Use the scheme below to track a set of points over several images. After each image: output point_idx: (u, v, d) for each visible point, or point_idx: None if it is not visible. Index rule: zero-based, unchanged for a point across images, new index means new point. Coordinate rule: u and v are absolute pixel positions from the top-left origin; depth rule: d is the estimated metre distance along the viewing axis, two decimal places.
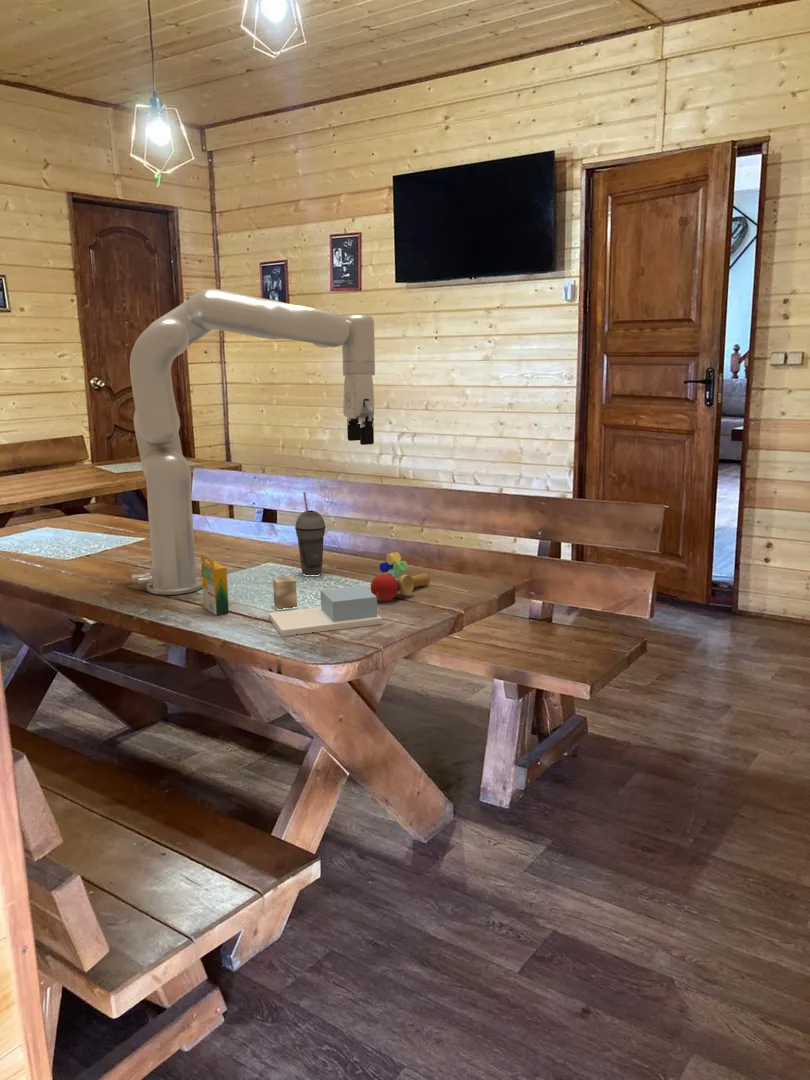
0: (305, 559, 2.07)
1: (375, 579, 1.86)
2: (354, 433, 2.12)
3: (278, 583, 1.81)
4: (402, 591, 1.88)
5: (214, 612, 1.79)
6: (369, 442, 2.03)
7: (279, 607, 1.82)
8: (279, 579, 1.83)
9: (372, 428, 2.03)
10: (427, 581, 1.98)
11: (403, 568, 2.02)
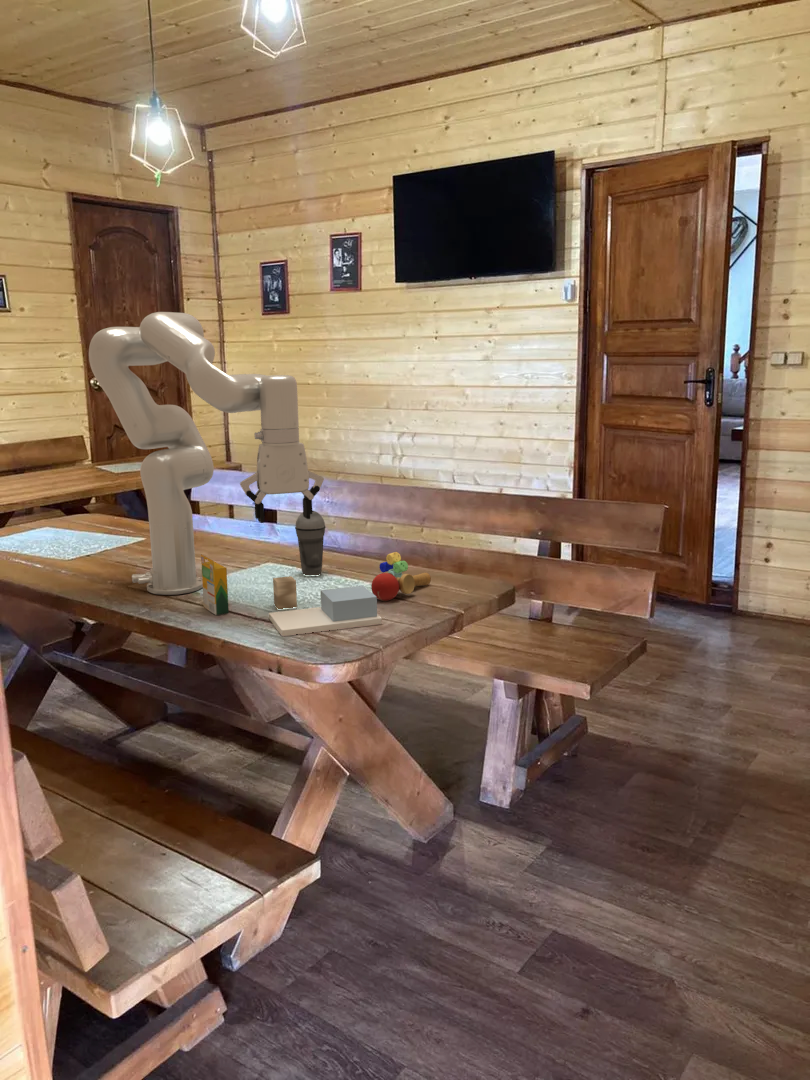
0: (305, 559, 2.07)
1: (376, 578, 1.87)
2: None
3: (278, 583, 1.81)
4: (403, 590, 1.88)
5: (214, 612, 1.79)
6: None
7: (279, 607, 1.82)
8: (279, 579, 1.83)
9: None
10: (428, 580, 1.98)
11: (403, 568, 2.02)
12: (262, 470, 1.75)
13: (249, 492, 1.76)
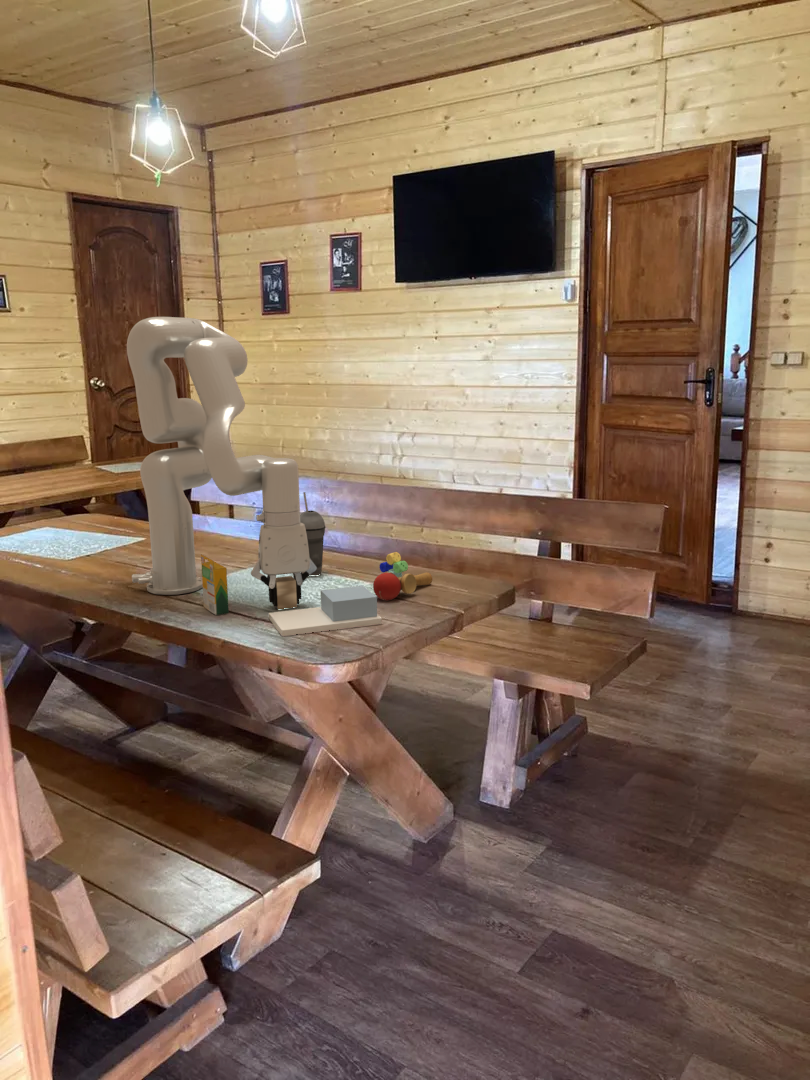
0: None
1: (377, 578, 1.87)
2: None
3: (278, 583, 1.81)
4: (404, 590, 1.89)
5: (214, 612, 1.79)
6: None
7: (279, 607, 1.82)
8: (279, 579, 1.83)
9: None
10: (429, 580, 1.99)
11: (403, 568, 2.02)
12: (263, 552, 1.78)
13: (263, 577, 1.80)
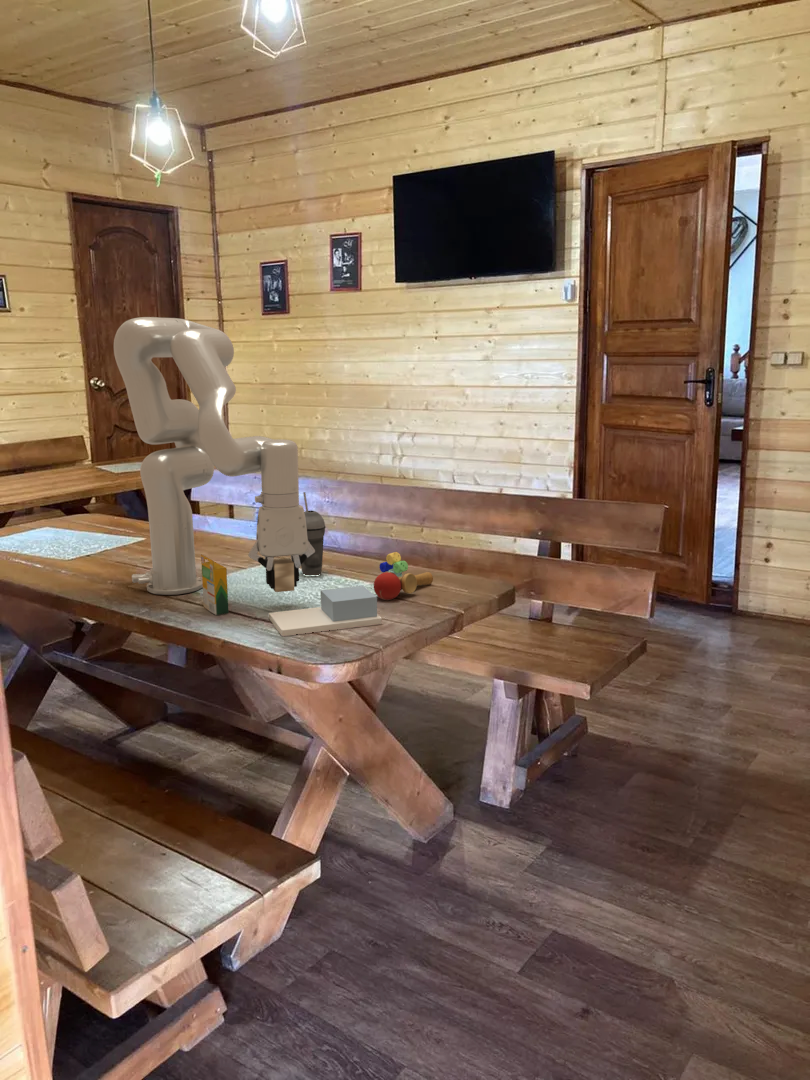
0: None
1: (378, 578, 1.87)
2: None
3: (276, 565, 1.80)
4: (405, 590, 1.89)
5: (214, 612, 1.79)
6: None
7: (276, 589, 1.81)
8: (277, 561, 1.82)
9: None
10: (430, 580, 1.99)
11: (403, 568, 2.02)
12: (262, 534, 1.77)
13: (261, 559, 1.80)
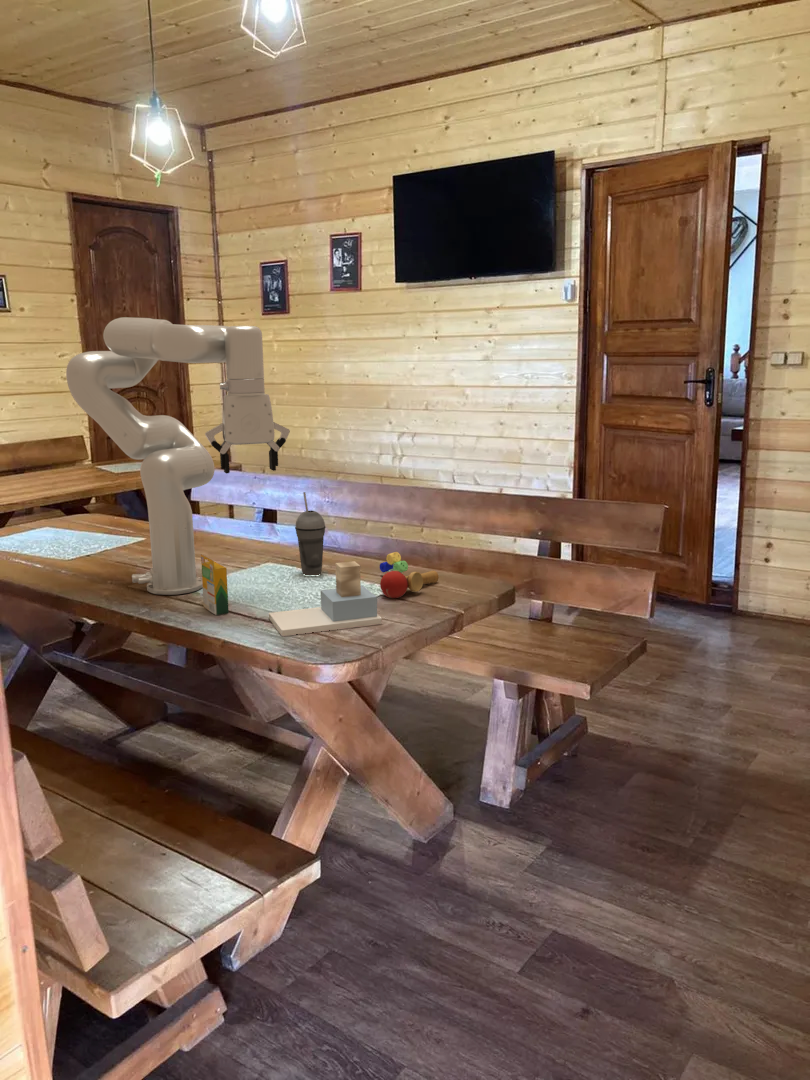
0: (305, 559, 2.07)
1: (385, 576, 1.89)
2: None
3: (341, 568, 1.71)
4: (411, 588, 1.90)
5: (214, 612, 1.79)
6: None
7: (342, 593, 1.72)
8: (342, 564, 1.73)
9: None
10: (436, 578, 2.00)
11: (403, 568, 2.02)
12: (227, 420, 1.76)
13: (214, 442, 1.77)
